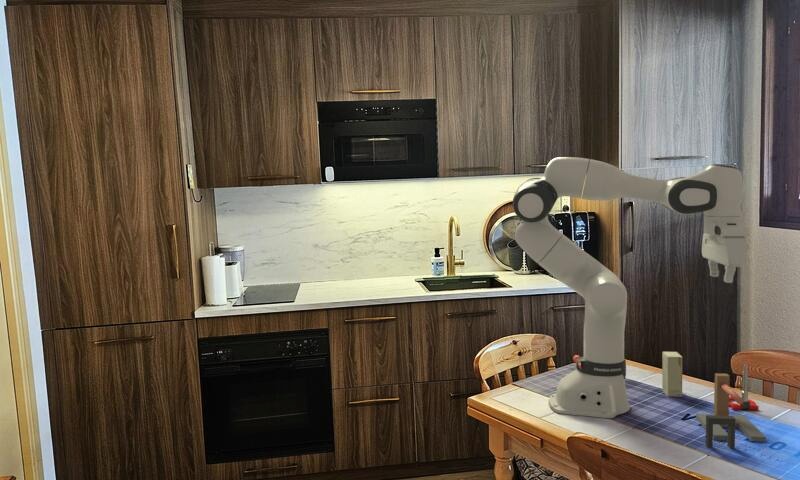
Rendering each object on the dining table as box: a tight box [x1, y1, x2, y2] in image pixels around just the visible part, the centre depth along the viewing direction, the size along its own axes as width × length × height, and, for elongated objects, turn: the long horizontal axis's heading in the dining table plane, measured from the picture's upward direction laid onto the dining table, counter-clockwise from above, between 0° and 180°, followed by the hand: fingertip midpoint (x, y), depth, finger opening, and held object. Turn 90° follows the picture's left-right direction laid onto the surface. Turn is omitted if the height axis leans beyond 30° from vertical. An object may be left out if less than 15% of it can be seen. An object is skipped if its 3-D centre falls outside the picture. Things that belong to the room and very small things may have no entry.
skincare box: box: [661, 351, 683, 398], centre depth 184 cm, size 6×4×12 cm
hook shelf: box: [695, 372, 767, 442], centre depth 157 cm, size 12×14×13 cm
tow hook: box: [729, 363, 759, 411], centre depth 174 cm, size 8×13×9 cm
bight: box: [705, 415, 736, 450], centre depth 148 cm, size 6×2×8 cm, turn 81°
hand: (721, 279), depth 160 cm, fingers open, 8 cm apart
